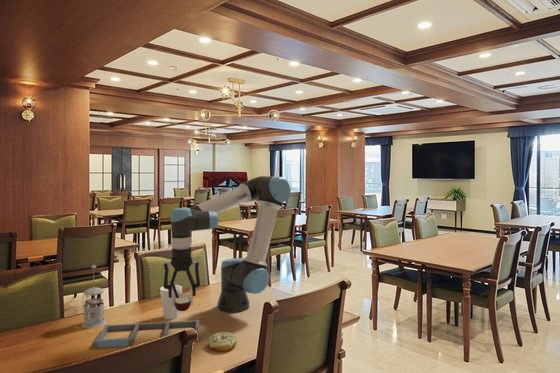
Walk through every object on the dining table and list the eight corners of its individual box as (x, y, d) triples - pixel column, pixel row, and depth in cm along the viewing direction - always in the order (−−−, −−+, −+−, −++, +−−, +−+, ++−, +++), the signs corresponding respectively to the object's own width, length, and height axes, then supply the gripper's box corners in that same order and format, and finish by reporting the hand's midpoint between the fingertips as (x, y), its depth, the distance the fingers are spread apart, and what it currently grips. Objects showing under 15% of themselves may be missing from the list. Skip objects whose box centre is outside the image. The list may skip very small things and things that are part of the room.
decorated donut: (207, 353, 143) (207, 342, 143) (210, 340, 154) (210, 330, 154) (236, 352, 144) (236, 341, 144) (237, 339, 155) (237, 330, 154)
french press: (90, 330, 162) (89, 269, 161) (73, 324, 168) (73, 265, 168) (111, 322, 171) (111, 264, 170) (95, 317, 177) (94, 261, 176)
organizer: (199, 324, 169) (199, 319, 169) (197, 341, 152) (197, 334, 152) (106, 329, 163) (106, 323, 162) (94, 347, 146) (94, 341, 146)
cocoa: (190, 306, 164) (191, 277, 164) (195, 310, 158) (195, 280, 158) (167, 309, 159) (167, 279, 159) (171, 314, 154) (172, 282, 154)
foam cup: (176, 321, 172) (176, 291, 172) (156, 319, 174) (156, 290, 174) (185, 313, 182) (185, 285, 181) (166, 312, 183) (166, 284, 183)
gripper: (206, 244, 163) (207, 300, 164) (157, 246, 160) (158, 303, 161) (206, 248, 156) (207, 306, 157) (154, 250, 152) (155, 309, 154)
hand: (182, 304), depth 159 cm, fingers closed on cocoa, 7 cm apart
